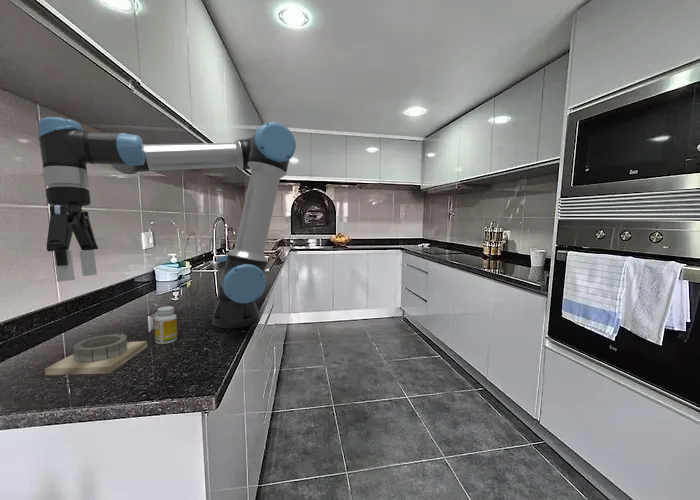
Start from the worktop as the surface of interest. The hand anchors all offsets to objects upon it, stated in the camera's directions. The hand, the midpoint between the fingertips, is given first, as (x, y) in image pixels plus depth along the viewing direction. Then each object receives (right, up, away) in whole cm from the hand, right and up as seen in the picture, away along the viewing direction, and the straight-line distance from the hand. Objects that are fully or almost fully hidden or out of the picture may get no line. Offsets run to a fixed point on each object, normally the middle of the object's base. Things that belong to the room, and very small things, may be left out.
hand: (79, 278), depth 72 cm
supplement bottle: (+12, -20, +15) cm, 27 cm away
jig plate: (+4, -20, +2) cm, 21 cm away
